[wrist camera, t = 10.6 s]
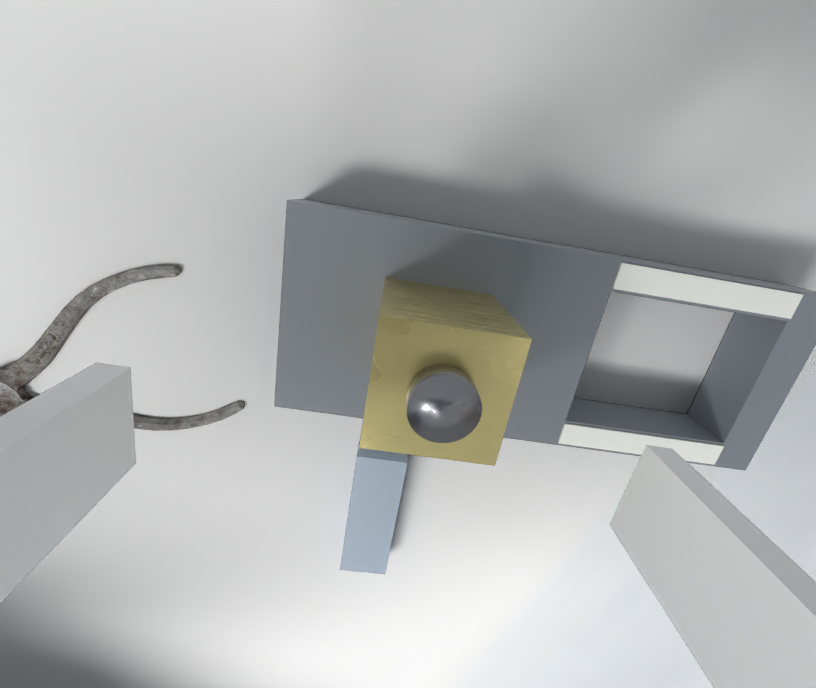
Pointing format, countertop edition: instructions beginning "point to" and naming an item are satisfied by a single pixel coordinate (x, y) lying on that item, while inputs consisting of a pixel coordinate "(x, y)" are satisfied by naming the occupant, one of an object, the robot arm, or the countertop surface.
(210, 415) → the pliers
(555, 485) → the countertop surface
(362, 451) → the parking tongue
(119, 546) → the countertop surface
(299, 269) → the rail board
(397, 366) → the block
